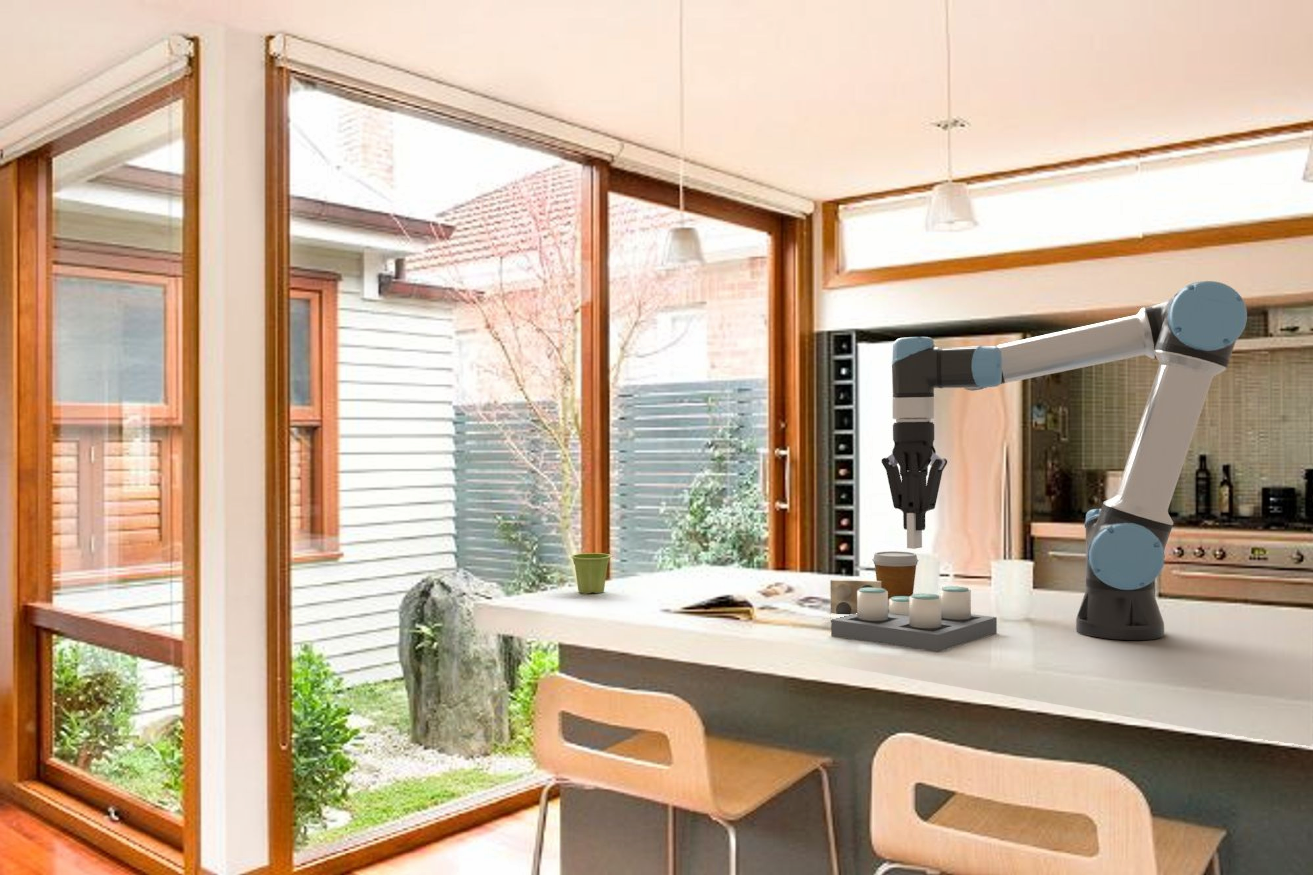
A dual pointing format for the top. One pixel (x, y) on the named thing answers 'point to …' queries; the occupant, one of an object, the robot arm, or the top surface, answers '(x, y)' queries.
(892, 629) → the board
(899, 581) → the disposable coffee cup
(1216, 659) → the top surface
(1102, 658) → the top surface
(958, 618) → the button
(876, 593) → the button
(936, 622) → the button
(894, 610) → the button
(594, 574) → the plant pot
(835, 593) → the card
